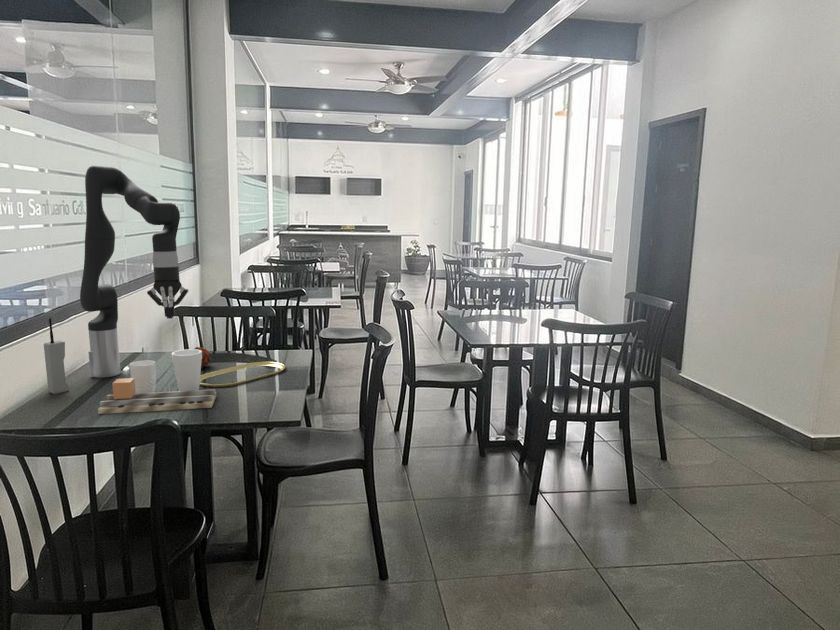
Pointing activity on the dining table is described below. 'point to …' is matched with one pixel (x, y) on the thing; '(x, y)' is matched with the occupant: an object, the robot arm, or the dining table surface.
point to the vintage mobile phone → (55, 364)
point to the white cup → (144, 375)
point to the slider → (124, 389)
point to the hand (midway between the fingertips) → (169, 318)
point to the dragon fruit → (204, 356)
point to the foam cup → (187, 368)
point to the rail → (160, 401)
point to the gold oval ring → (238, 369)
